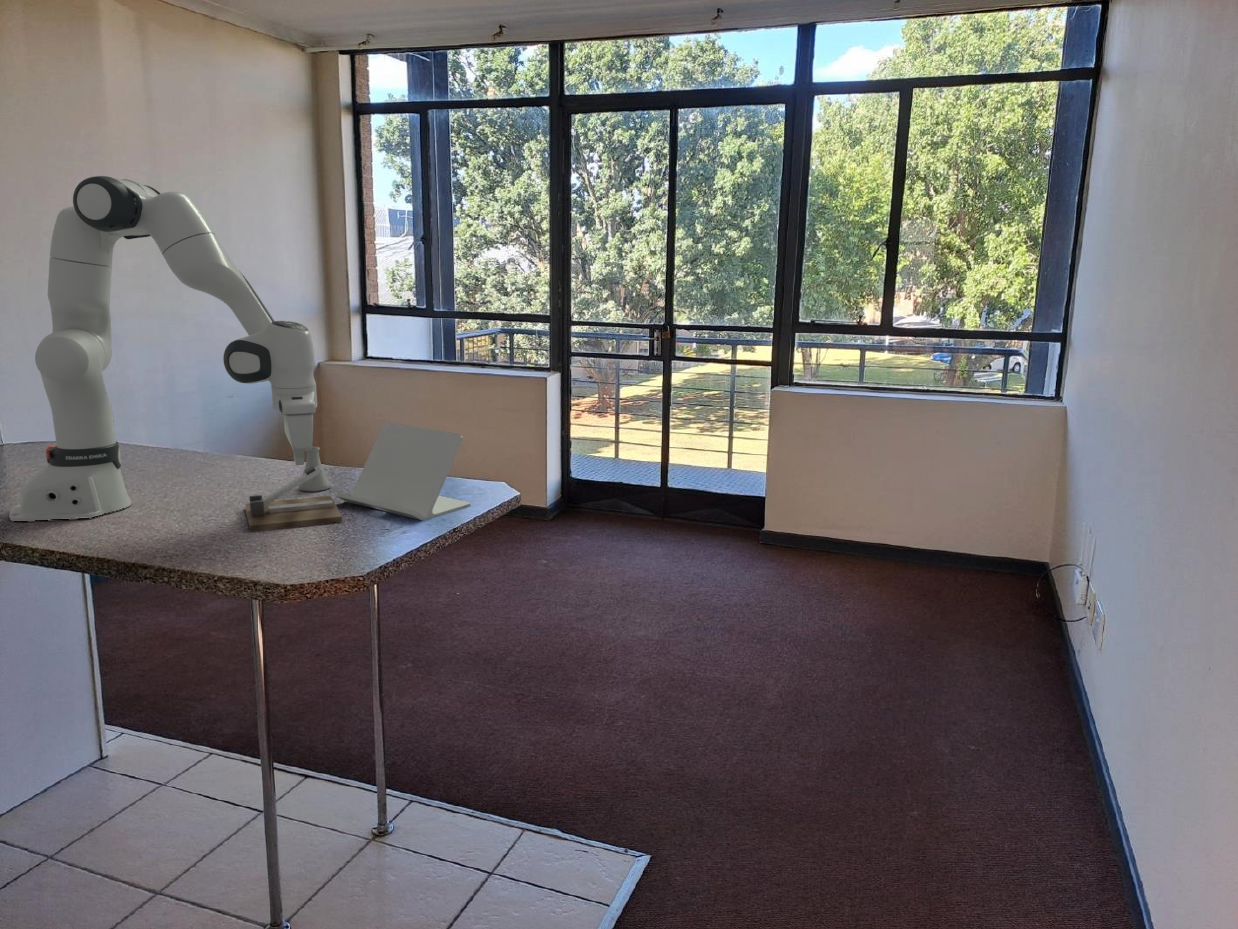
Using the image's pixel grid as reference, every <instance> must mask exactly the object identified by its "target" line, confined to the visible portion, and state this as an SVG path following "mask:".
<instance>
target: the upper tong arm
mask: <svg viewBox="0 0 1238 929" xmlns="http://www.w3.org/2000/svg"><path fill="white" fill-rule="evenodd" d="M304 471H305V474H303V473H302V475H300V476H299V477H296V478H295V479H293V480H292V481H289V482H288V483H287V484H285V485H284V486H282V487H280V488H278V489H276V490H274V491H273V492H271V493H270V494H268V495H266V496H265V497H262V499H261V500H253V501H263V504H264V506H265V505H267V504H269V503H270V502H272V501H277V499H279V498H281V497H282V496H284V495H286V494H287V493H289V492H291V491H292V490H294V489H296V488H298V487H299V485H301V484H302V483H304V482H306V481H308V480H309V479H311V478H313V477H314V476H316V475H318V474H319V473H321V472H322V470H321V468H320V467H319V466H317V467H315V468H314V467H313V466H311V467H310V468H308V469H306V470H304V469H303V472H304ZM253 501H252V502H253Z"/></svg>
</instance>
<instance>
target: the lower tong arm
mask: <svg viewBox="0 0 1238 929" xmlns="http://www.w3.org/2000/svg"><path fill="white" fill-rule="evenodd" d="M261 499H263V495H262V494H255V495H249V503H250V509H251V512H252V517H262V516H264V504H263V501H253V500H261ZM252 501H253V502H252ZM332 507H333V502H332V500H329V501H318V502H308V503H297V504H286V505H276V506H268V508H269V514H271V513H281V512H291V511H301V510H311V509H322V508H332Z"/></svg>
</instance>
